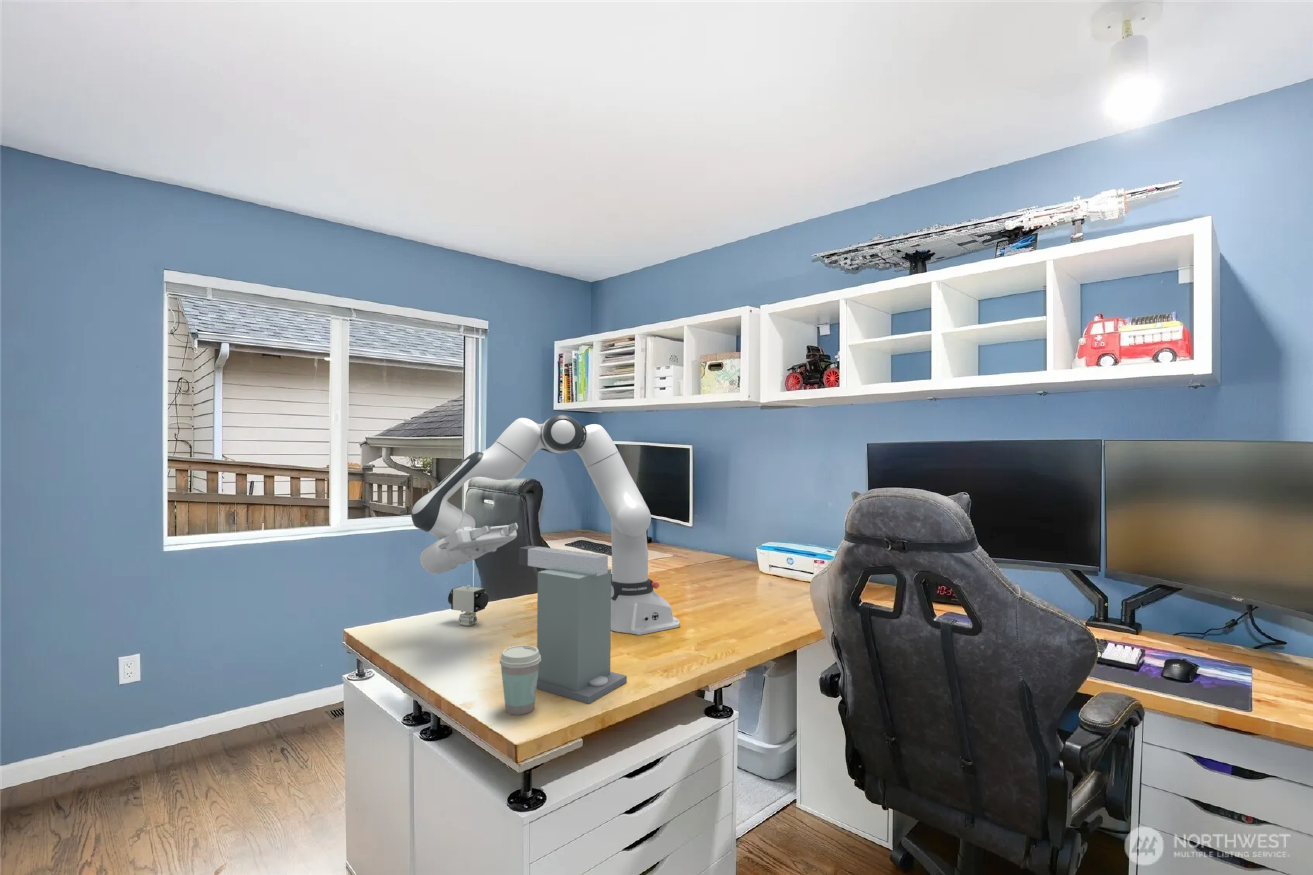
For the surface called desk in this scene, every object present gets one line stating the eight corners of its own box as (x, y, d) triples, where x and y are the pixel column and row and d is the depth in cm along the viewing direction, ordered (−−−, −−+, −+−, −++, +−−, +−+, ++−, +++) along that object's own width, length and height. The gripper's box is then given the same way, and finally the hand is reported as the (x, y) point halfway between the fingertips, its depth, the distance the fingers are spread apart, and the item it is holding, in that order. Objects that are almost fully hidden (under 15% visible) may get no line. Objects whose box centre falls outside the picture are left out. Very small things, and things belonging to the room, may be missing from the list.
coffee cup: (538, 717, 122) (538, 658, 122) (495, 718, 121) (495, 658, 122) (542, 699, 131) (543, 643, 131) (502, 700, 130) (503, 644, 130)
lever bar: (518, 564, 147) (518, 547, 147) (530, 561, 150) (530, 545, 150) (596, 576, 134) (597, 558, 134) (607, 573, 137) (607, 555, 138)
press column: (533, 687, 137) (534, 572, 137) (573, 668, 149) (574, 562, 149) (588, 703, 128) (589, 581, 129) (626, 682, 140) (627, 570, 141)
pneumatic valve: (479, 628, 180) (479, 588, 180) (447, 624, 184) (447, 585, 184) (490, 623, 185) (490, 584, 185) (459, 619, 189) (459, 581, 189)
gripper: (431, 536, 152) (468, 518, 146) (492, 530, 170) (526, 513, 164) (437, 560, 151) (474, 543, 144) (497, 551, 168) (532, 535, 162)
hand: (502, 527), depth 154 cm, fingers open, 8 cm apart
